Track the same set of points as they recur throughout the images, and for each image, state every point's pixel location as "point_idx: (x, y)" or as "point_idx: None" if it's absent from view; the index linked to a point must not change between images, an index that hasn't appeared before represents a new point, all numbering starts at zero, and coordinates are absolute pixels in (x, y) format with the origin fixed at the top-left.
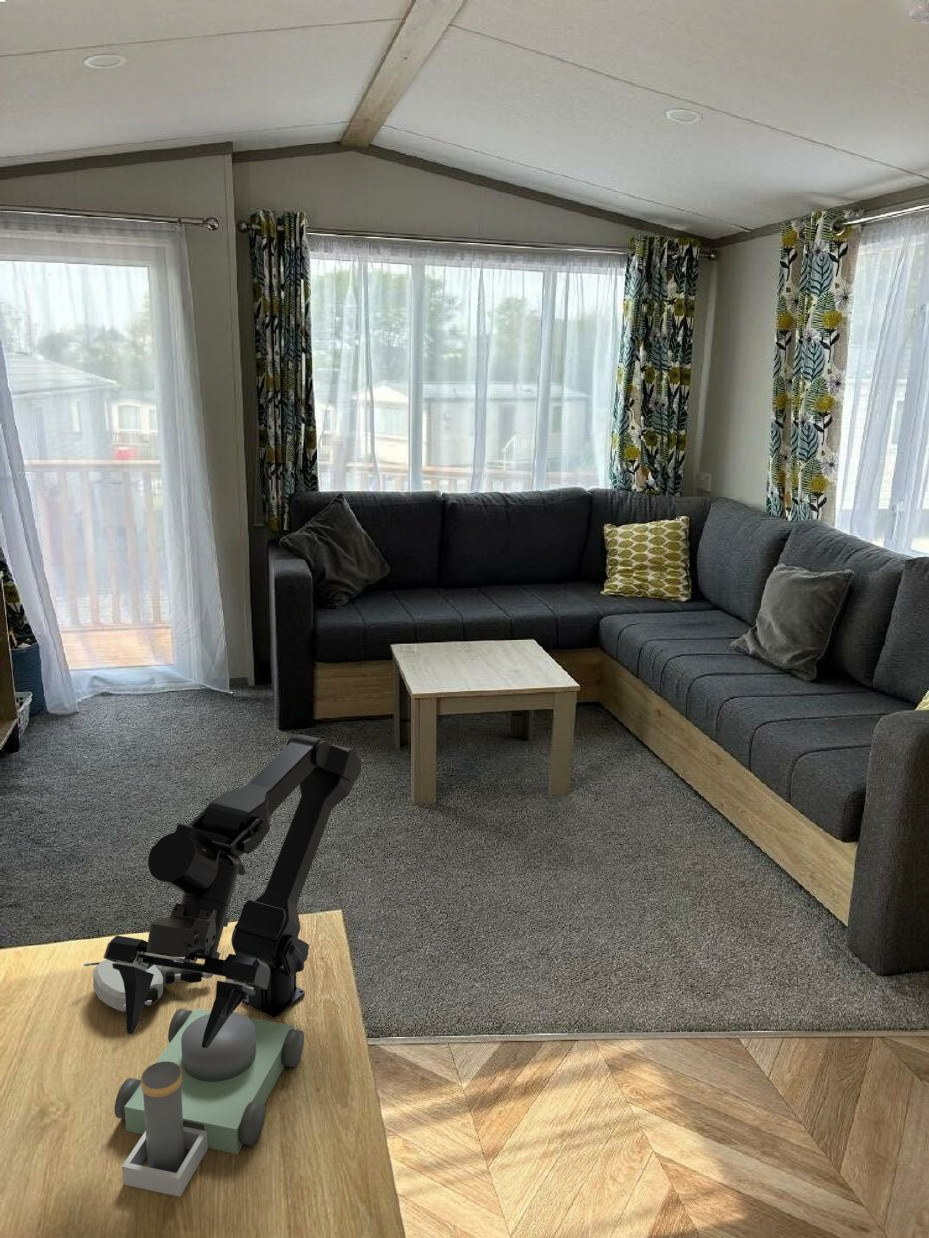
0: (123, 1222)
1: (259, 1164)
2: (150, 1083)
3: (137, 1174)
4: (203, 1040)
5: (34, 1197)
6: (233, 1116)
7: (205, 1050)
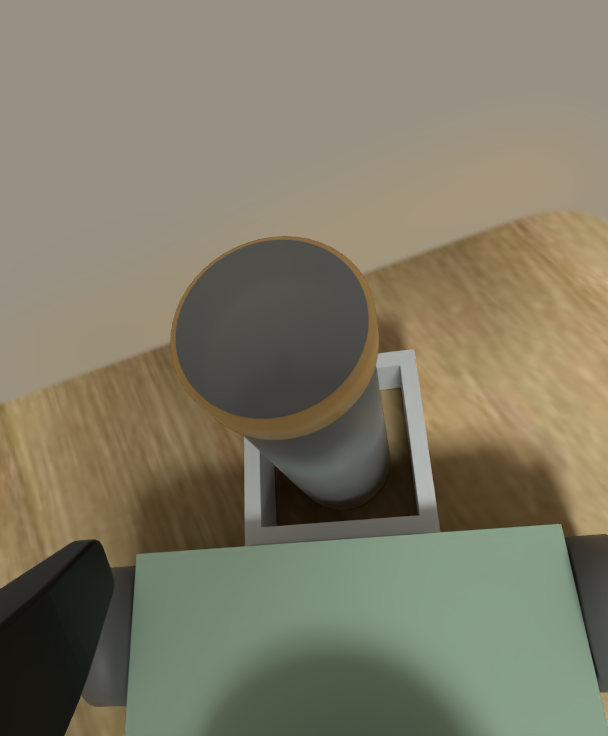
0: None
1: (109, 545)
2: (288, 256)
3: None
4: (69, 555)
5: (597, 271)
6: (166, 606)
7: None
